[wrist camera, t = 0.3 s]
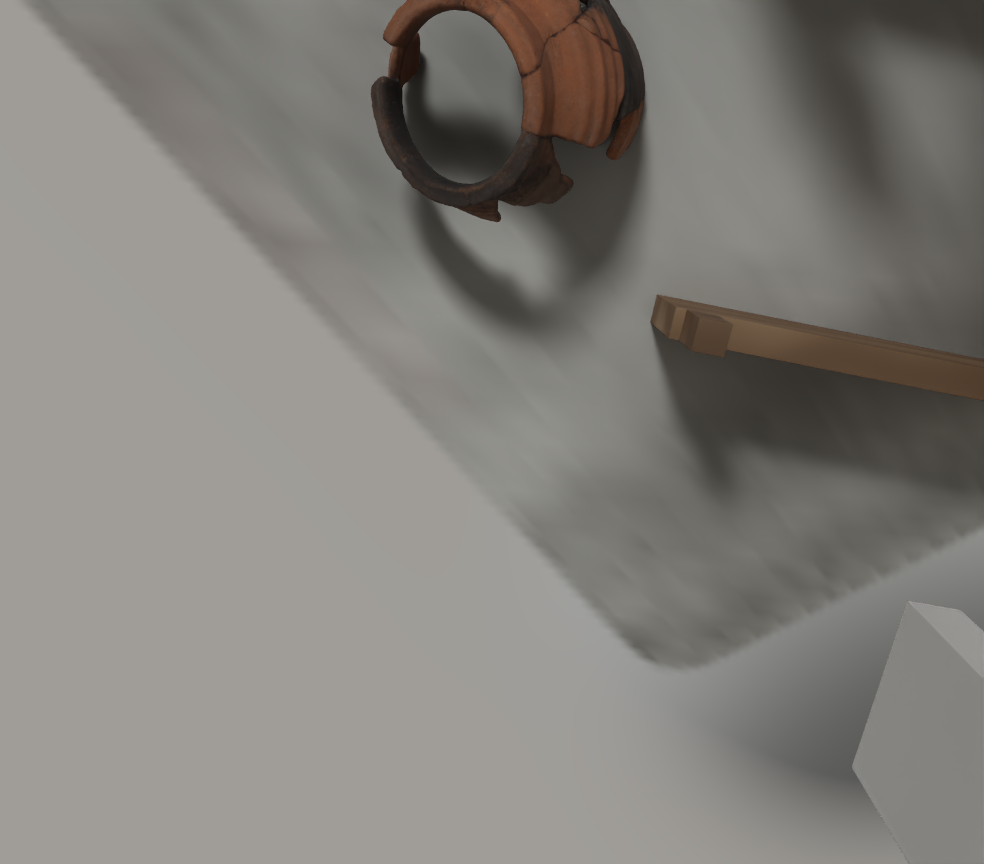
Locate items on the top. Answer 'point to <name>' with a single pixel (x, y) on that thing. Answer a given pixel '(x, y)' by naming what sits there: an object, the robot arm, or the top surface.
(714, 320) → the brown wooden tray
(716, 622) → the top surface
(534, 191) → the broken pottery fragment
